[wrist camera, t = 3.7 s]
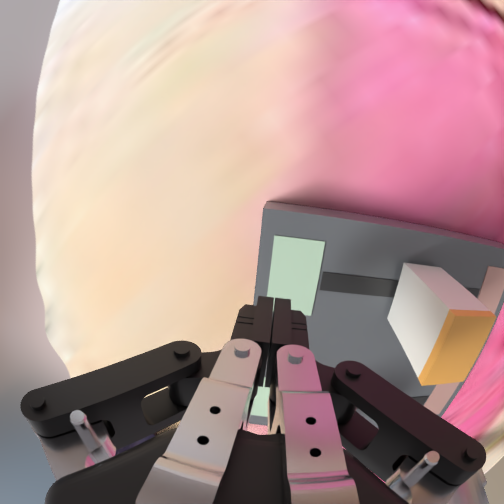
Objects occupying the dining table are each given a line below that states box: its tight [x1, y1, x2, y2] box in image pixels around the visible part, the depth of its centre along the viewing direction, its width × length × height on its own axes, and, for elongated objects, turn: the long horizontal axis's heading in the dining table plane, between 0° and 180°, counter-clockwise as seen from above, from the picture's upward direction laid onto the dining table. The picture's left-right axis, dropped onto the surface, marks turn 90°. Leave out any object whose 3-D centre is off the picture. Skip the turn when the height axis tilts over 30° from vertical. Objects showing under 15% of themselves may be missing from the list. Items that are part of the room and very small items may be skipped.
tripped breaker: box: [387, 263, 496, 386], centre depth 13 cm, size 3×4×7 cm
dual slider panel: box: [249, 201, 504, 428], centre depth 20 cm, size 21×19×3 cm
